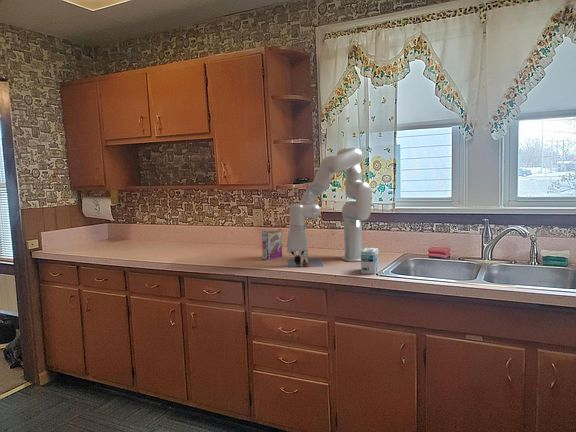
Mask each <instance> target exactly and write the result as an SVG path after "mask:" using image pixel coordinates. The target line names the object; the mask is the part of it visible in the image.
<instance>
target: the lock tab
mask: <svg viewBox="0 0 576 432" xmlns="http://www.w3.org/2000/svg"><path fill="white" fill-rule="evenodd" d="M308 253H309V251H308V252H307V253H303V254H302V255H301V257H304V256H305V257H307V259H308V258H309V254H308Z"/></svg>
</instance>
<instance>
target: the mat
mask: <svg viewBox="0 0 576 432" xmlns="http://www.w3.org/2000/svg"><path fill="white" fill-rule="evenodd" d="M286 260H287V267H288V269H296V268H297V269H298V268H307V267H306V264H305V261H304V260H303V267H301V262H300V263H299V264H296V263H295V258H287V259H286ZM307 260H308V262H309V267H308V268H319V267H320V268H321V267H325V266H324V264H323V262H322V260H321V258H320V257H308V259H307Z"/></svg>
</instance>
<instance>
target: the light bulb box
mask: <svg viewBox="0 0 576 432" xmlns="http://www.w3.org/2000/svg"><path fill="white" fill-rule="evenodd" d="M379 254H380V253H379V248H378V247H376V248H375V247H365V248H362V251H361V261H360V262H361V263H360V264H361V265H360V266H361V272H360V273H361V274H368V275H370V274H371V275H376V273H377V272H379V270H380V259H379V258H380V255H379Z"/></svg>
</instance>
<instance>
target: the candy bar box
mask: <svg viewBox="0 0 576 432" xmlns="http://www.w3.org/2000/svg"><path fill="white" fill-rule="evenodd" d="M282 234H283V231H282V229H279V228H272V229H265V230H262V231H261V249H262V252H261V254H262V260H264V261H268V260H273V259H277V258H282V257H283V235H282Z"/></svg>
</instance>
